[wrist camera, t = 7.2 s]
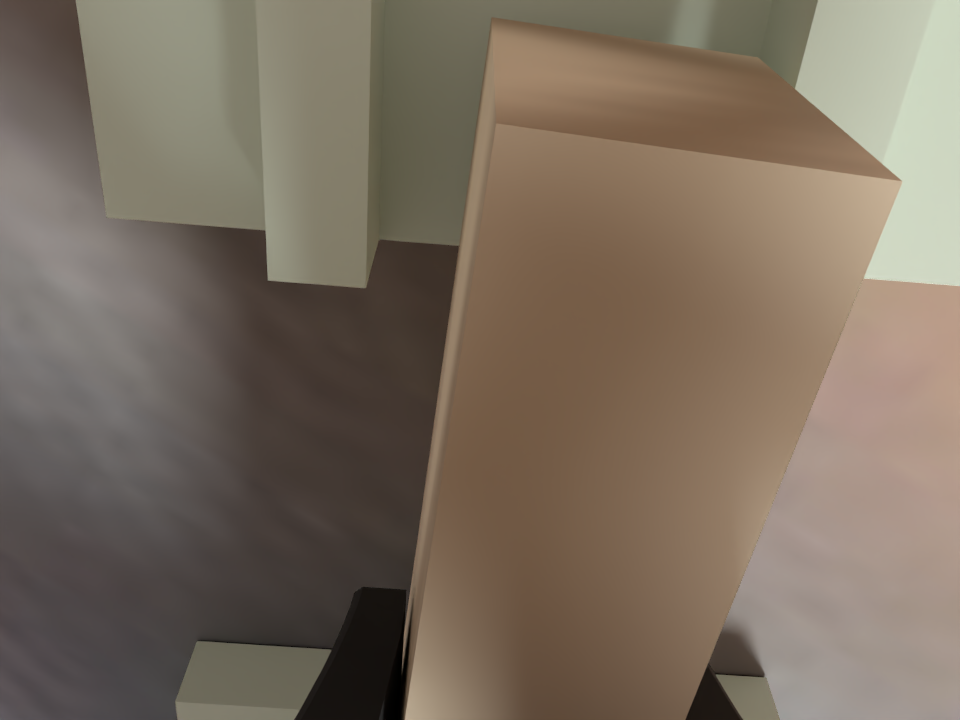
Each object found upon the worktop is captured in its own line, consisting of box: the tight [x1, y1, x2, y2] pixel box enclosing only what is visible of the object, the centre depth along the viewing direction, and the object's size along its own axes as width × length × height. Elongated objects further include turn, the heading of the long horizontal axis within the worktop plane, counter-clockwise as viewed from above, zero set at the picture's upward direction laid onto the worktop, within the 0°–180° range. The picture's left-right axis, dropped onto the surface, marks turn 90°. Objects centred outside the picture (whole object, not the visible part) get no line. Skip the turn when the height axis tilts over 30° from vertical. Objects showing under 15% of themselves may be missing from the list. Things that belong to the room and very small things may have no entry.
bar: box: [397, 17, 903, 720], centre depth 12 cm, size 3×16×4 cm, turn 172°
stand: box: [76, 0, 960, 720], centre depth 15 cm, size 20×12×3 cm, turn 175°
